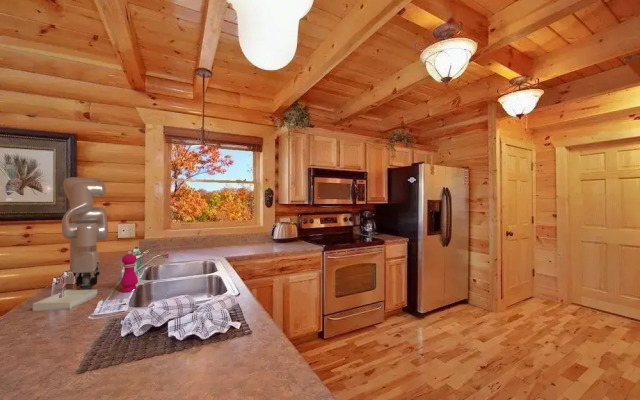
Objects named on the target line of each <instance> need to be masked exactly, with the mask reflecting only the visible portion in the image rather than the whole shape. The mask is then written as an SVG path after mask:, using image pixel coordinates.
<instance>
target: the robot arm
mask: <svg viewBox="0 0 640 400" xmlns="http://www.w3.org/2000/svg"><path fill="white" fill-rule="evenodd" d="M62 185H63V186H62V187H63V191H64V193H65V196H66V197H67V199H68V201H69V209H68V210H67V211H66V212H65V213H64V214H63V217H62V219H61V234H62V237H63V238H64V239H66V240H67V239H68V243H69V270H68V271H71V272H73V273H74V276H75V279H76V284H75V285H76V287H80V286H79V284H81V283H82V282H83V277H82V276H83V273H91V275H92V276H91V286H93V287H94V286H96V285H97V284H98V277H99V275H101V273H103V272H104V271H105V269H104V267H103V266H102V265H101V261H100V254H99V251H98V250H97V246H98V245H97V241H103V240H106V239H108V237H109V224H108V215H107V214H108V213H107V211H106V209H105V208H104V207H101V206H94V198H93V197H95V198H97V197H98V198H99V197H105V195H106V192H107V191H106V190H107V188H106V184H105V182H104V181H103V180H102V179H101V178H97V177H84V176H83V177H82V176H81V177H80V176H79V177H75V176H74V177H73V176H71V177H67V178H65V179H63V184H62ZM70 220H71V222H72V223H70Z"/></svg>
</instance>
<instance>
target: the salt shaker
mask: <svg viewBox="0 0 640 400" xmlns="http://www.w3.org/2000/svg"><path fill="white" fill-rule="evenodd" d="M91 276H92V275H91V273H83V276H82V277H83V282H82V283H81V284H79V286H78V287H79V288H80V290H94V288H93V287H94V285H93V286H91Z"/></svg>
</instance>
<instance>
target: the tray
mask: <svg viewBox="0 0 640 400" xmlns="http://www.w3.org/2000/svg"><path fill="white" fill-rule="evenodd" d="M93 289H94V288H93ZM63 291H64V294H65V296H64V297H62V298H59V295H60V294H61V293H60V292H58V294H57V293H55V294H53V295H50V296H48V297H45V298H43V299H41V300H38V301H36V302H33V303H32V312H37V311H38V312H39V311H61V310H65V311H67V310H72V309H74V308H76V307H77V306H79V305H81V304H83V303H86V302H87V301H89V300H92V299H94V298H95V297H97V296H98V289H94V290H83V289H71V290H70V289H67V290H66V289H65V290H63Z"/></svg>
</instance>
